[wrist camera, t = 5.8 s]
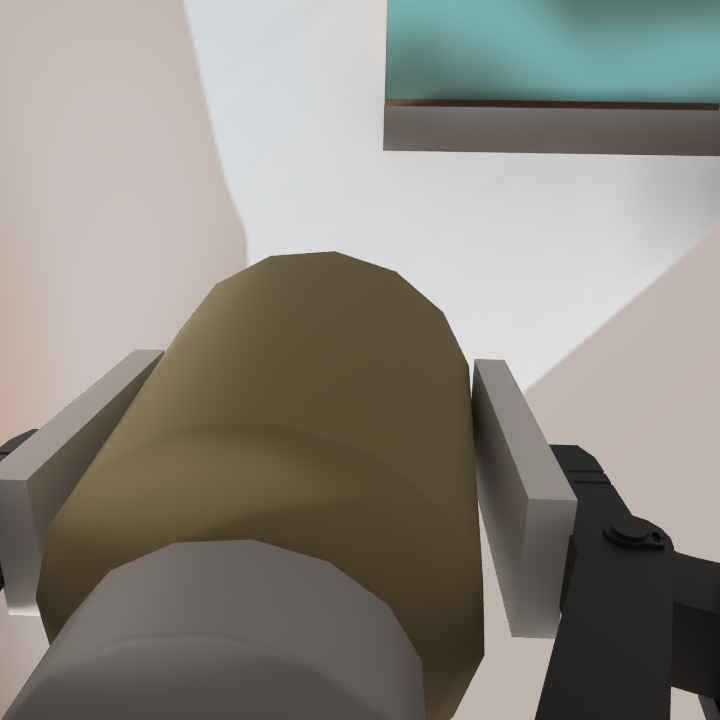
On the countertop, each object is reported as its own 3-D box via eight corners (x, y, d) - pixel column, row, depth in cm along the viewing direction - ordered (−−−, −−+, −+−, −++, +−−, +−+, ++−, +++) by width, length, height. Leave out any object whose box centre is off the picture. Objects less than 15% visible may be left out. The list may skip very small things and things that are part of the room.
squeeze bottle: (478, 247, 19) (1423, 1377, 2) (436, 482, 21) (623, 1822, 4) (210, 214, 19) (-1648, 989, 2) (201, 453, 21) (-526, 1677, 4)
